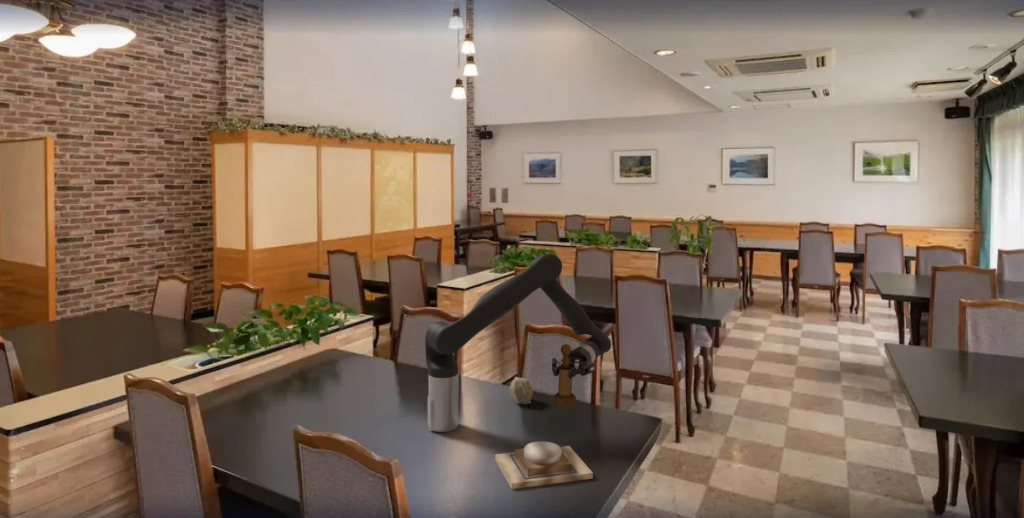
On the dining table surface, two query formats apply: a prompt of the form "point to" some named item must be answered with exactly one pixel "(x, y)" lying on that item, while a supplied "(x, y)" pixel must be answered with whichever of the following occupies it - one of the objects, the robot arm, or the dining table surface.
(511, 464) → the beige flat stepped piece
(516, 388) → the garlic bulb
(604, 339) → the robot arm
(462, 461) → the dining table surface
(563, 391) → the wooden knobbed peg
